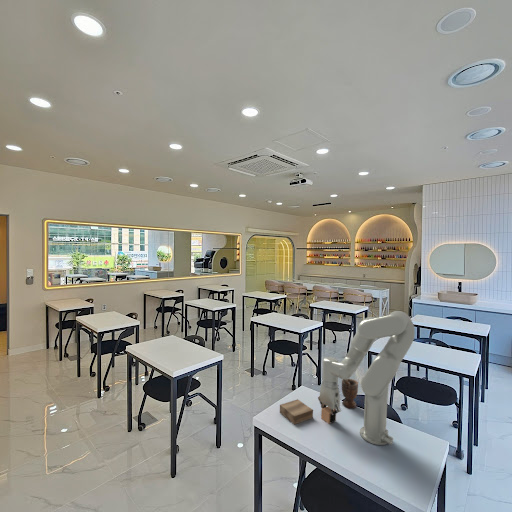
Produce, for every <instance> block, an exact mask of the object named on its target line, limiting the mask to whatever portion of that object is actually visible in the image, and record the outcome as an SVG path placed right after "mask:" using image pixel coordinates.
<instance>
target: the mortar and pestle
mask: <svg viewBox="0 0 512 512" xmlns="http://www.w3.org/2000/svg"><path fill="white" fill-rule="evenodd" d="M358 391H359V382H358V381H357V380H355V379H351V378H349V379H347V380H343V379H341V392H342V396H343V397H344V399H343V400H342V402H341V403H342V405H343V407H344V408H347V409H355V408H357V403H356V401H355V400H354V399H356V398H357V396H358V393H359V392H358Z"/></svg>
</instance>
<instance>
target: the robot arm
mask: <svg viewBox="0 0 512 512" xmlns="http://www.w3.org/2000/svg"><path fill="white" fill-rule="evenodd" d="M415 333H416V332H415V324H414V322H413V321H412V319H411V317H410V316H409V315H408V314H407V313H406V312H404V311H402V310H394V311H391V312H390V313H389V314H387V315H385V316H380V317H374V316H368V317H365V318H364V319H362V321H360V322H359V324H358V326H357V331H356V332H355V335H354V336H353V338H352V339H351V342H350V344H351V346H350V349H349V350H348V351H347V354H346V355H345V357H344V358H343V359H342V360H341V361H339V360H338V359H337V358H335V357H332V356H326V357H324V358H323V360H322V377H321V385H320V390H319V396H318V397H317V399H318V401H319V404H320V407H321V409H322V408H325V407H329V408H330V409H331V414H330V422H331V423H333V422H334V423H335V422H336V421H335V417H336V418H337V414H338V413H340V412H342V410H341V408H340V407H341V397H340V396H341V395H340V389H339V383H338V380H339V379H341V380H347V379H351V377H352V376H353V375H354V373H356V371H357V369H358V368H359V366H360V365H361V363H362V361H363V360H364V358H365V356H366V355H368V352H369V351H370V349H371V348H372V346H373V345H374V342H375V341H376V340H377V339H381V338H388V337H389V338H388V340H387V342H386V344H385V346H384V347H383V349H382V350H381V351H379V352H378V354H377V355H376V356H375V358H373V361H372V362H371V364H370V366H368V368H367V370H366V372H365V374H364V375H363V377H362V378H361V380H360V385H361V387H360V388H361V390H362V392H363V393H364V407H363V408H364V412H363V426H362V427H360V429H359V435H360V436H361V438H363V440H365V441H366V442H368V443H370V444H372V445H376V446H377V445H378V446H385V445H387V444H389V445H390V446H392V445H393V444H394V443H393V441H394V437H393V436H391V435H389V430H388V429H387V416H388V414H387V413H388V410H387V409H388V395H389V387H390V383H391V382H392V380H393V379H394V377H395V376H396V374H397V372H398V370H399V368H400V365H401V363H402V362H403V359H404V358H405V356H406V355H407V353H408V351H409V350H410V348H411V347H412V344H413V342H414V339H415ZM338 378H339V379H338ZM333 409H334V411H333ZM331 423H330V424H331Z"/></svg>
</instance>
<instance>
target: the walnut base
mask: <svg viewBox="0 0 512 512" xmlns="http://www.w3.org/2000/svg"><path fill="white" fill-rule="evenodd" d="M279 413H280V414H281V415H282V417H283V416H284V417H285V418H286V419H287V420H288V421H289V422H290V423H291V424H293V425H297V424H300V423H302V422H305V421H308V420H311V419H313V417H314V410H313V409H312V408H311V407H309V406H308V405H306V404H305V403H304V402H302V401H301V400H300V399H298V398H297V399H295V400H291V401H287V402H285V403H281V404H279Z"/></svg>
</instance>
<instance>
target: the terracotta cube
mask: <svg viewBox="0 0 512 512" xmlns="http://www.w3.org/2000/svg"><path fill="white" fill-rule="evenodd" d="M333 411H334V409H333ZM320 412H321V414H320V415H321V416H320V417H321V420H323V421H324V422H325V423H327V424H331V422H330V414H331V409H330V408H329V407H328V406H326V407H325V408H321V411H320ZM336 419H337V416H336V417H335V421H334V422H336V421H337V420H336Z"/></svg>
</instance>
